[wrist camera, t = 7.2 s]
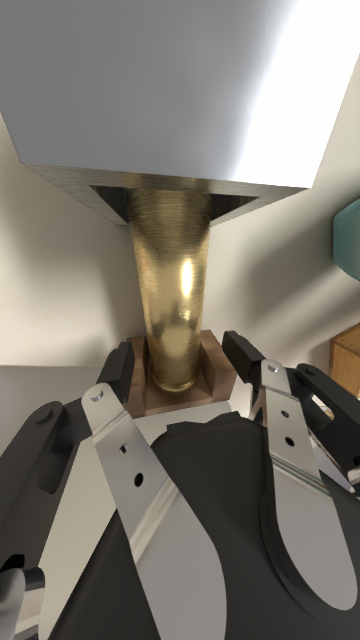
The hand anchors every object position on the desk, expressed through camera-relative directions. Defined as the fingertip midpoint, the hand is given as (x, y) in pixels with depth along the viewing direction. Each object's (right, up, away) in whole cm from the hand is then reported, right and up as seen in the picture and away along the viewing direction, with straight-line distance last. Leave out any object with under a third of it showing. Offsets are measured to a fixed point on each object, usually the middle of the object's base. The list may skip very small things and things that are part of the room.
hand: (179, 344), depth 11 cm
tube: (-1, +5, +3) cm, 5 cm away
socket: (-1, -2, +6) cm, 6 cm away
